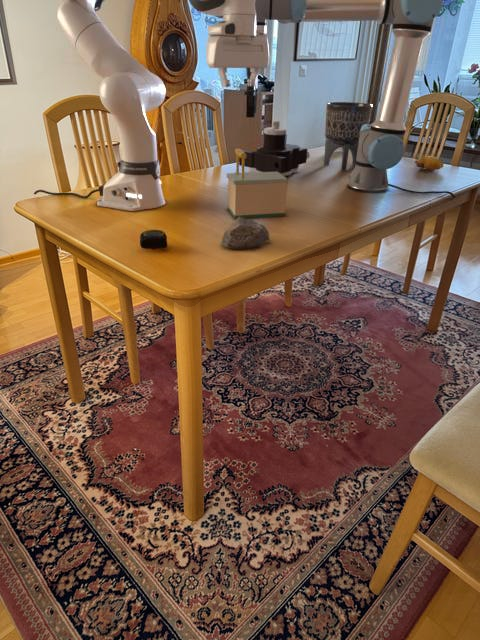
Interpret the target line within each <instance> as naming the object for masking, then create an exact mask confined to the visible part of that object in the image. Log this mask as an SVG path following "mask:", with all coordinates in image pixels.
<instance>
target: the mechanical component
mask: <svg viewBox="0 0 480 640" xmlns="http://www.w3.org/2000/svg"><path fill="white" fill-rule="evenodd" d="M287 138H288V129H287V128H286V127H280V121H279V120H272V126H271V127H265V128H264V129H263V145H262V146H258V147H257V148H256V151H250V150H245V149H241V151H243V152H244V153H245V154H246V155H247V157H246V158H245V164H244V168H250V169H255V172H279V173H280V174H281V175H283V176H284V177H286V176H291V175H292V173H298V171H299V167H300V165H303V164H304V165H305V164H307V160H309V158H310V156H311V154H310V152H309V151H308V148H304V147H301V146H299V145H297V144H290V143H287ZM239 167H242V158H240V157H239Z"/></svg>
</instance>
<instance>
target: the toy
mask: <svg viewBox="0 0 480 640" xmlns="http://www.w3.org/2000/svg"><path fill="white" fill-rule="evenodd" d="M414 163H415V164H416V167H417V168H421V169H425V170H427V171H429V172H434V171H438V170H440V169H443V167H444V165H445V164H444V163H443V162H441V161H439V159H438V158H437V157H435V156H433V155H428V156H426V157H425V156H424V157H420V158H419V159H418V160H415V161H414Z"/></svg>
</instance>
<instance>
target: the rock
mask: <svg viewBox="0 0 480 640" xmlns="http://www.w3.org/2000/svg"><path fill="white" fill-rule="evenodd" d="M269 241H270V233H269V230H268V229H267V228H266V226H265V225H263V224H261V223H259V222H256V221H255V220H252V219H249V218H242V217H238V218H237V219H235V221H234V222H233V223H232V224H231V225H229V226H228V227H227V228H226V229H225V231H224V233H223V236H222V239H221V244H222V247H224V248H229V249H231V250H245V249H254V248H257V247H259V246H260V245H264V244H266V242H269Z"/></svg>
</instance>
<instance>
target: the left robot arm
mask: <svg viewBox="0 0 480 640" xmlns="http://www.w3.org/2000/svg"><path fill="white" fill-rule="evenodd" d="M105 1H106V0H62V1H61V3H60V4H59V5H58V8H57V12H56V17H57V22H58V23H59V26H60V28H61V29H62V31H63V33H64V34H65V36H66V38H67V39H68V41H69V42H70V44H71V45H72V47H73V48H74V49H75V50H76V51H77V53H78V54H79V55H80V56H81V59H83V60H84V62H85V63H86V64H87V65H88V67H89V68H90V69H91V70H92V72H94V73H95V74H96V75H97V76H98V77H100V78H102V81H101V83H100V85H99V90H98V93H99V94H98V95H99V99H100V101H101V104H102V106H103V107H104V109H106V110H107V111H108V112H109V113H110V115H111V116H112V119H113V120H114V123H115V125H116V129H117V131H118V135H119V143H120V149H121V158H122V159H121V160H119V161H118V162H116V163H115V165H116V166H115V168H118V171H117V172H116V173H115V174H113V176H112V177H110V179H108V180H107V182H105V183H104V184H101V185H99V186H98V188H96V189H93V190H91V191H90V192H89V193H88V194H87V195H82V194H79V193H75V192H52V191H48V190H44V189H37V190H35V191H34V192H33V195H37V194H38V193H43V194H46V195H50V196H75V197H78V198H81V199H88V198H90V197H91V195H92V194H94V193H97V192H98V193H99V196H100V198H98V199H97V201H96V205H97V206H98V207H104V208H109V209H110V208H111V209H115V210H116V209H117V210H123V211H130V212H139V211H143V210H150V209H156V208H160V207H162V206H164V205H165V204H166V200H165V196H164V194H163V190H162V181H161V180H160V178H161V167H160V160H159V159H158V147H157V136H156V135H157V134H156V132H155V131H154V130H153V129H152V128H151V126H150V123H149V122H148V118H147V114H146V112H151V111H153V110H155V109H157V108H158V107H160V106H161V105H162V104H163V103H164V101H165V100H166V99H165V98H166V86H165V84H164V81H163V80H162V79H161V78H160V77H159V76H158V75H156V74H154V73H153V72H151V71H150V70H148V69H147V68H146V67H145V66H144V65H143V64H141V62H139V60H137V59H136V58H135V57H134V56H133V55H132V54H131V53H129V52H128V50H126V49H125V48H124V47H123V46H122V45H121V43H120V42H119V41H118V40H117V38H116V37H115V36H114V34H112V32H111V30H109V28H108V27H107V26H106V25H105V23H104V22H103V21H102V20H101V18H100V17H99V16H98V15H97V11H99V10H101V8H102V6H103V3H104V2H105ZM188 1H189V3H190V5H191V7H192V8H193V9H194V10H196V11H197V12H200V13H202V14H205V15H209V16H213V17H215V18H218V19H222V20H220V21H218V22H215V23H213V24H210V25H208V26H207V29H206V30H207V32H206V33H207V35H208V36H209V37H208V38H207V40H206V47H205V48H206V49H205V59H206V61H205V62H206V65H207V66H208V68H210V69H217V73H218V76H219V77H220V80H221V87H222V88H229V87H230V85H231V80H230V79H228V76H227V74H226V73H228V69H247V68H250V72H252V73H251V76H250V79H246V82H248V83H246V86H247V85H248V86H255V79H256V77H257V78H258V76H259V73H260V69H267V68H268V67H269V65H270V49H269V47H270V46H269V36H268V34H267V32H266V33H265V32H264V31H263V30H256V10H255V1H256V0H188ZM257 34H259V35H257ZM264 34H265V35H264ZM257 75H258V76H257Z"/></svg>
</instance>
